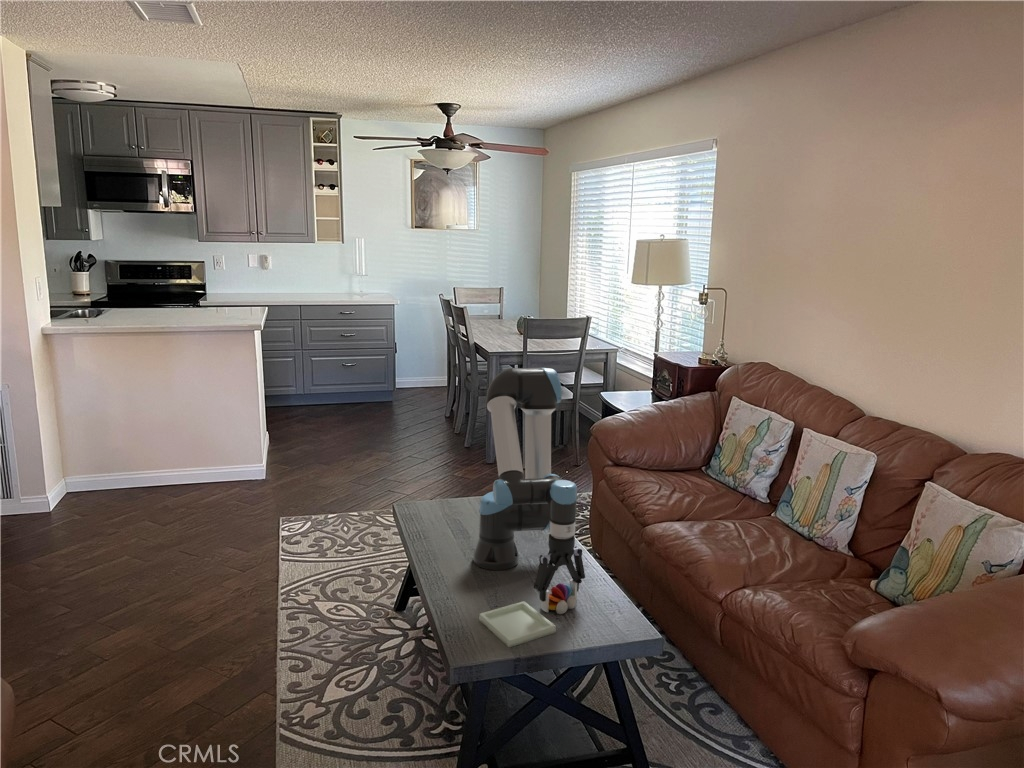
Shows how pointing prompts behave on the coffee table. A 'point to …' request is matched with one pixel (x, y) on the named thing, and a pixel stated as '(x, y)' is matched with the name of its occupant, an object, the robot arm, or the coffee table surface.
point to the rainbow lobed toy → (561, 598)
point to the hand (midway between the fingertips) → (558, 606)
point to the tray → (517, 623)
